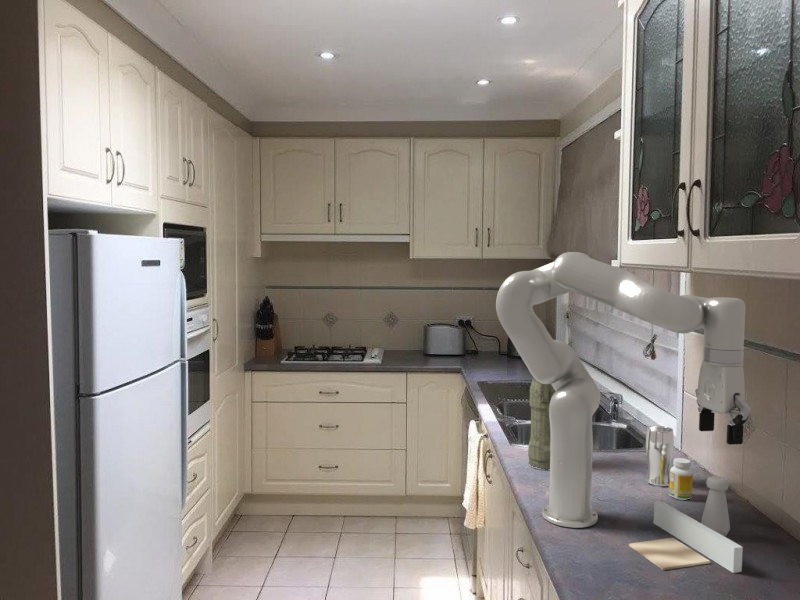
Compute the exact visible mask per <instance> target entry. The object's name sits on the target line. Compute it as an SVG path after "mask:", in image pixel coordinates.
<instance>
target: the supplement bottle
mask: <svg viewBox="0 0 800 600" xmlns="http://www.w3.org/2000/svg"><path fill="white" fill-rule="evenodd" d="M691 463H692V461H691V460H690V459H687V458H683V457H682V458H681V457H675V458H673V462H672V464H673V466H670V469H669V477H670V484H669V486H668V489H669V490H668V495H669V497H670V496H672V497H674V498H677V499H690V498H691V499H692V498H693V481H694V472H693V469H691V465H692V464H691ZM672 497H671V498H672ZM677 499H676V500H677ZM691 499H690V500H691Z"/></svg>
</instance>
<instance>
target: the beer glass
mask: <svg viewBox="0 0 800 600" xmlns="http://www.w3.org/2000/svg"><path fill="white" fill-rule="evenodd" d="M645 435H646V436H645V452H646V460H647V466H648V467H647V468H648V469H647V475H646V481H647V482H648V483H650V484H654V485H668V484H670V469H671V462H672V459H673V456H674V455H673V454H674V444H675V443H674V442H675V441H674V440H675V439H674V428H672V427H670V426H669V427H668V426H665V425H649V426H647V427H646V434H645ZM647 482H646V483H647ZM648 483H647V484H648ZM650 484H649V485H650Z"/></svg>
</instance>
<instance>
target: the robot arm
mask: <svg viewBox="0 0 800 600" xmlns="http://www.w3.org/2000/svg"><path fill="white" fill-rule="evenodd" d="M498 289H499V290H498V292H497V296H496V299H495V300H496V301H495V309H496V315H497V318H498V320H499V322H500V325H501V327H502V328H503V330H504V331H505V333H506V335H507V336H508V338H509V339H510V341H511V342H512V344H513V346H514V348H515V349H516V351H517V353H518V354H519V357H520V358H521V359H522V361H523V363H524V364H525V366H526V367H527V369H528V371H529V373H530V375H531V376H532V377H534V378H535V379H536V380H537V381H538V382H540V383H542V384H551V385H552V386H553V388H554V389H555V393H554V394H553V396H552V398H551V401H550V405H549V419H550V433H551V441H550V470H549V490H546V492H545V495H546V497H548V503H547V504H546V505H545V506H544V507H543V508H542V510H541V513H542V514H541V515H542V517H543V518H544V519H545V520H546V521H548V522H549V523H551V524H554V525H557V526H559V527H563V528H565V527H566V528H573V529H582V528H589V527H592V526H594V525H595V524H596V523H598V521H599V517H598V516H599V514H598V512H596V511H595V509H593V508H592V487H593V485H592V484H593V448H594V447H593V446H594V444H593V443H594V442H593V434H594V433H593V415H594V413H596V411H597V410H598V409H599V406H600V404H601V393H600V389H599V387H598V386H597V384H596V382H595V380H594V379H593V378H592V376H591V374H590V372H589V371H588V369H587V367H585V365H584V363H583V362H582V360H581V359H580V357H579V356H578V354H577V352H576V351H575V349H573V348H572V346H570V345H569V344H568V343H566V342H565V341H562V340H559V339H554V338H553V337H552V335H551V334H550V332H549V331H548V330H547V328H546V326H545V325H544V323H543V322H542V320H541V319H540V318H539V317H538V316H537V314H536V313H535V311H534V308H533V306H536V305H537V306H538V305H539V304H543V303H544V302H548V301H550V300H554V299H555V298H557V297H561V296H564V295H565V294H568V293H571V292H573V293H575V294H578V295H581V296H585V297H587V298H589V299H592V300H594V301H597V302H600V303H602V304H604V305H607V306H610V307H611V308H614V309H616V310H618V311H619V312H623V313H625V314H628V315H629V316H632V317H635V318H637V319H639V320H642V321H644V322H647V323H649V324H652V325H654V326H656V327H658V328H661V329H665V330H667V331H670V332H673V333H676V334H683V335H684V334H689V333H692V332H694V331H696V330H697V329H703V331H704V332H703V354H702V361H701V365H700V368H699V374H698V380H697V381H698V383H697V388H696V389H695V397H696V404H697V405H698V408H697V411H698V412H699V414H698V416H699V418H698V431H700V432H713V431H714V430H715V413H717V414H720V415H725V416H726V418H727V421H728V423H729V424H727V426H726V444H728V445H729V446H730V445H743V443H744V426H746V423H747V421H748V420H749V415H750V413H751V410H752V408H751V406H750V405H749V403H748V402H746V400H745V399H746V387H745V385H746V384H745V375H744V374H745V373H744V372H745V371H744V354H745V353H744V351H745V350H744V349H745V329H746V328H745V327H746V326H745V325H746V324H745V323H746V321H745V320H746V303H745V301H744V300H743V299H741V298H737V297H724V296H723V297H719V296H716V297H704V296H697V295H691V294H690V295H689V294H681V295H679V294H677V293H673V292H670V291H668V290H664V289H663V288H660V287H658V286H654V285H652V284H650V283H648V282H646V281H643V280H642V279H640V278H639V277H637V276H636V275H635V274H634V273H632V272H631V271H628V270H625V269H623V268H620V267H617V266H613V265H611V264H608V263H604V262H603V261H599V260H597V259H596V258H595V259H594V258H592V257H590V256H589V255H587V254H586V253H583V252H579V251H568V252H563V253H561V254H560V255H558V256H557V258H555V259H554V261H552V262H549V263H547V264H544V265H542V266H540V267H537V268H534V269H532V270H522V271H517V272H515V273H513V274H511V275H509V276H508V277H507V278H506V279H504V281H503V282H502V284H501V285H500V287H499V288H498ZM735 415H736V416H735ZM734 416H735V417H734Z"/></svg>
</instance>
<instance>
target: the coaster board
mask: <svg viewBox="0 0 800 600" xmlns="http://www.w3.org/2000/svg"><path fill="white" fill-rule="evenodd" d="M628 546H629V547H630V548H632V550H634V551H635V552H637V553H639V554H640V555H641V556H642V557H644V558H645V559H646V560H648V561H649V562H651V563H653V564H654V565H655V566H656V567H658V568H659V569H661V570H662V571H666V570H667V571H669V570H674V569H680V568H688V567H694V566H695V567H696V566H701V565H708V564H709V565H710V563H711V561H710V559H709V558H708V559H707V558H706V556H705V557H704V556H703V555H702V554H700V553H698V551H695V549H693V548H691V547H690V546H687V544H684V543H683V542H682V541H679V539H678V540H677V538H675V537H667V538H659V539H654V540H645V541H638V542H632V543H628Z"/></svg>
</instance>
